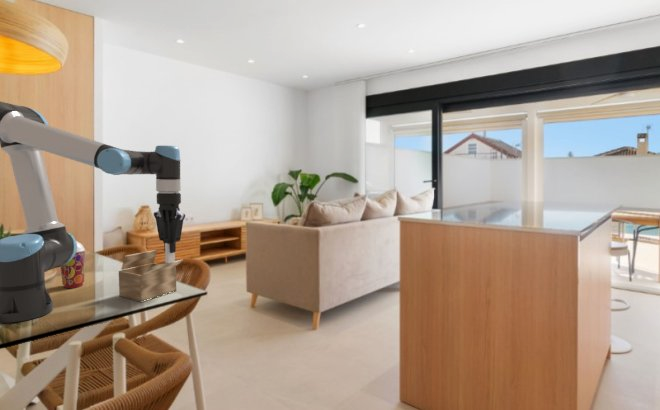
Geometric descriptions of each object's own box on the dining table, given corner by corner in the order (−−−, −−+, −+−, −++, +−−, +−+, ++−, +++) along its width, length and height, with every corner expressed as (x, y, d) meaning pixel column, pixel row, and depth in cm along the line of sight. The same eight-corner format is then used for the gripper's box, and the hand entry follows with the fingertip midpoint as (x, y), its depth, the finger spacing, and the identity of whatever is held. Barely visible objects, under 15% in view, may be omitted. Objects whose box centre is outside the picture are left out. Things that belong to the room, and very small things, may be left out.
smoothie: (63, 284, 150) (61, 232, 148) (88, 282, 153) (86, 231, 151) (57, 290, 142) (54, 235, 141) (83, 288, 145) (81, 234, 144)
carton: (142, 302, 130) (141, 275, 130) (119, 296, 136) (118, 271, 135) (176, 291, 143) (175, 267, 142) (154, 286, 148) (153, 263, 148)
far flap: (121, 269, 136) (125, 256, 134) (121, 269, 136) (124, 255, 134) (153, 262, 147) (157, 250, 145) (152, 262, 147) (156, 249, 145)
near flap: (143, 274, 130) (152, 267, 128) (143, 273, 130) (152, 266, 128) (174, 267, 141) (183, 260, 139) (174, 266, 141) (183, 259, 139)
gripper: (191, 192, 131) (192, 261, 133) (164, 191, 137) (166, 257, 139) (172, 193, 125) (174, 266, 127) (145, 192, 131) (147, 261, 133)
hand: (170, 261), depth 133 cm, fingers closed
